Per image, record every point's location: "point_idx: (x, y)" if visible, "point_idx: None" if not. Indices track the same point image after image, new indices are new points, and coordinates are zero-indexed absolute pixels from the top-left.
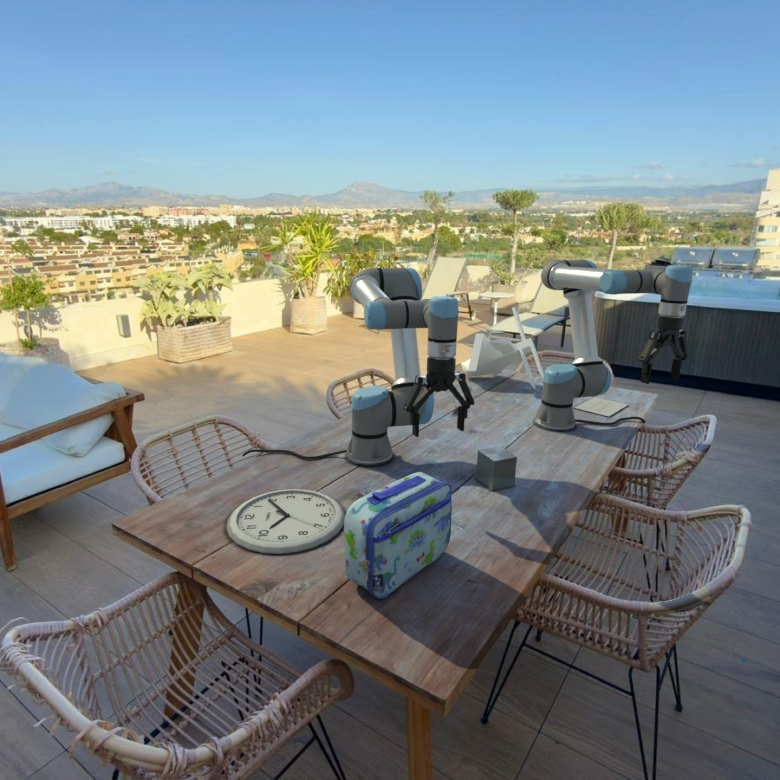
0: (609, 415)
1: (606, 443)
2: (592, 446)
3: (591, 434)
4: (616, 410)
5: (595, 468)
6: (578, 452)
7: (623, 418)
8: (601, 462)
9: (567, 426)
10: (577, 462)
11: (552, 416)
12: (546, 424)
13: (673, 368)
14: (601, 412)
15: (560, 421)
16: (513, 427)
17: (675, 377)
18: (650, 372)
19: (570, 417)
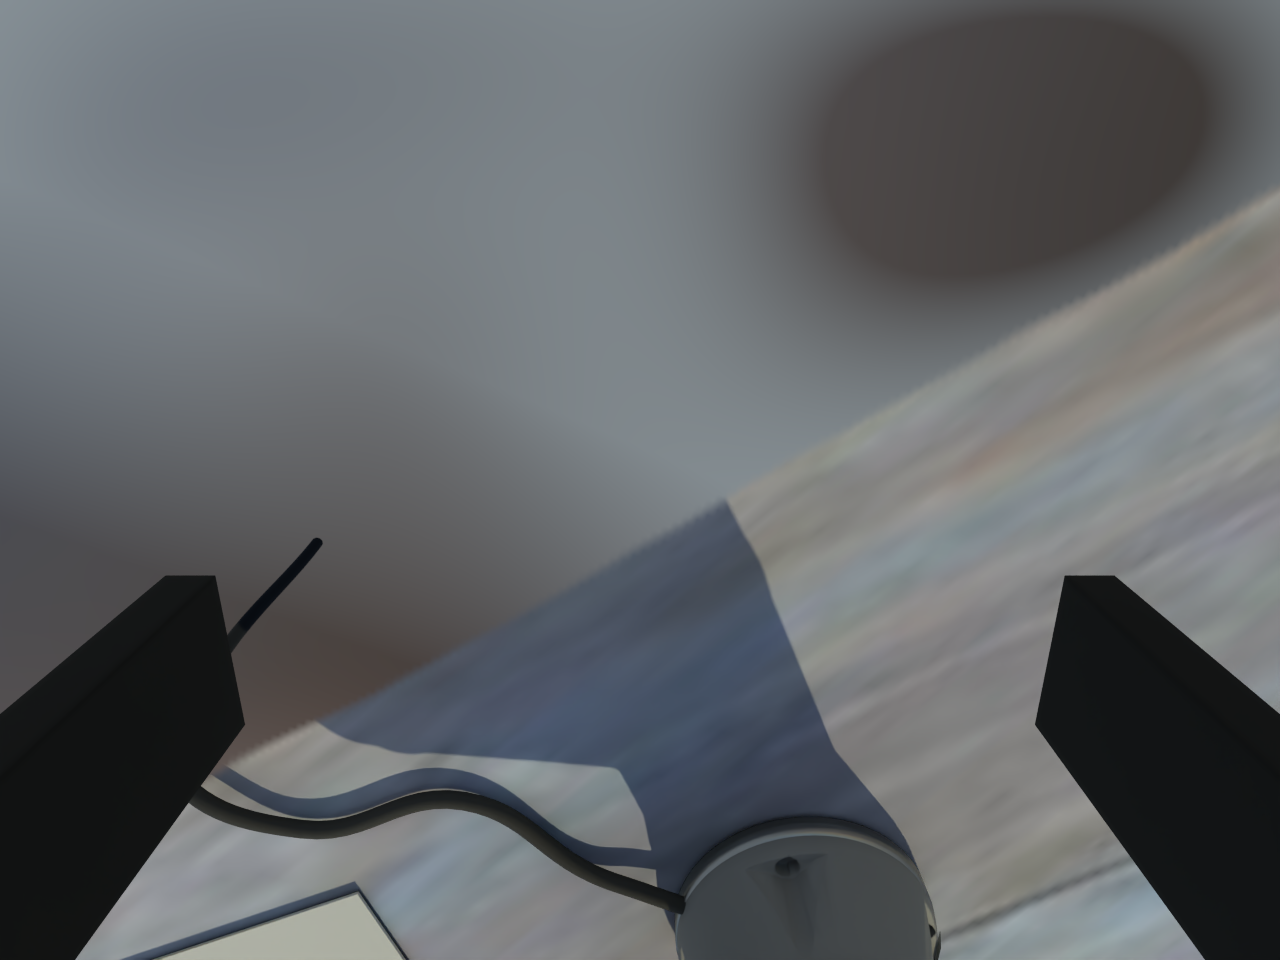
0: (341, 903)
1: (740, 587)
2: (872, 584)
3: (709, 726)
4: (224, 947)
5: (1175, 309)
6: (1043, 546)
7: (305, 830)
8: (1049, 367)
9: (823, 839)
10: (1194, 429)
11: (921, 940)
12: (930, 901)
13: (112, 848)
14: (354, 952)
15: (878, 884)
16: (1072, 952)
17: (204, 636)
18: (1256, 734)
19: (782, 903)
